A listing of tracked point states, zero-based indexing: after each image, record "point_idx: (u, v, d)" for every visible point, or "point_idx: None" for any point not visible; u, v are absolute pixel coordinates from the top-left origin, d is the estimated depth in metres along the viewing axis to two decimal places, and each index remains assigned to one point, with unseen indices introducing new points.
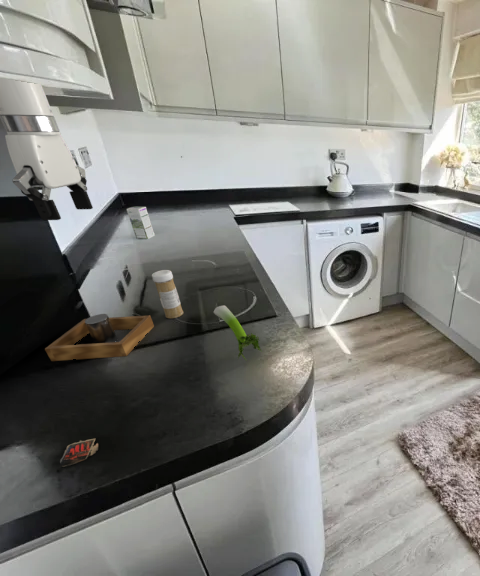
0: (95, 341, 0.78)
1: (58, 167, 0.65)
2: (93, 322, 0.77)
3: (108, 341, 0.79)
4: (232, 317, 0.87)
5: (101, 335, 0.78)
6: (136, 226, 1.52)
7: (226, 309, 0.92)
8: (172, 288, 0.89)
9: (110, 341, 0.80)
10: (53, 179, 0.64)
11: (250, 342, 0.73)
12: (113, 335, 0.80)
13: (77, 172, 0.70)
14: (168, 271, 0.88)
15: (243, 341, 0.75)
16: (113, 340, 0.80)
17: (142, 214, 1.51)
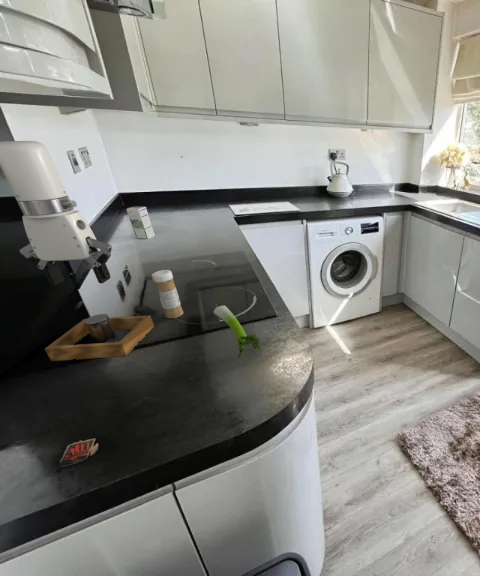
0: (95, 341, 0.78)
1: (49, 245, 0.67)
2: (93, 322, 0.77)
3: (108, 341, 0.79)
4: (232, 317, 0.87)
5: (101, 335, 0.78)
6: (136, 226, 1.52)
7: (226, 309, 0.92)
8: (172, 288, 0.89)
9: (110, 341, 0.80)
10: (43, 254, 0.68)
11: (250, 342, 0.73)
12: (113, 335, 0.80)
13: (79, 250, 0.69)
14: (168, 271, 0.88)
15: (243, 341, 0.75)
16: (113, 340, 0.80)
17: (142, 214, 1.51)
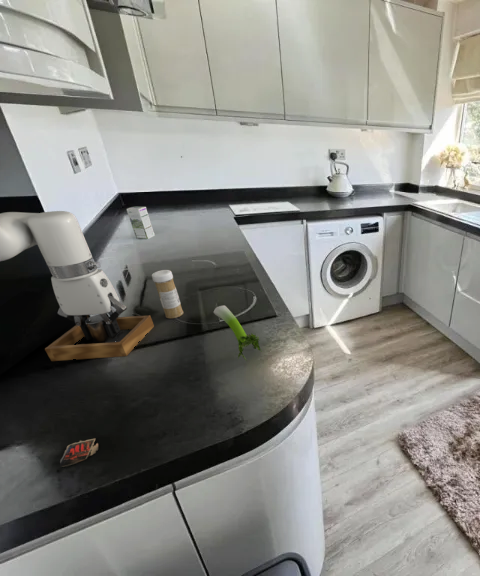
0: (95, 341, 0.78)
1: (74, 302, 0.73)
2: (93, 322, 0.77)
3: (108, 341, 0.79)
4: (232, 317, 0.87)
5: (101, 335, 0.78)
6: (136, 226, 1.52)
7: (226, 309, 0.92)
8: (172, 288, 0.89)
9: (110, 341, 0.80)
10: (68, 310, 0.74)
11: (250, 342, 0.73)
12: None
13: (102, 306, 0.75)
14: (168, 271, 0.88)
15: (243, 341, 0.75)
16: (113, 340, 0.80)
17: (142, 214, 1.51)
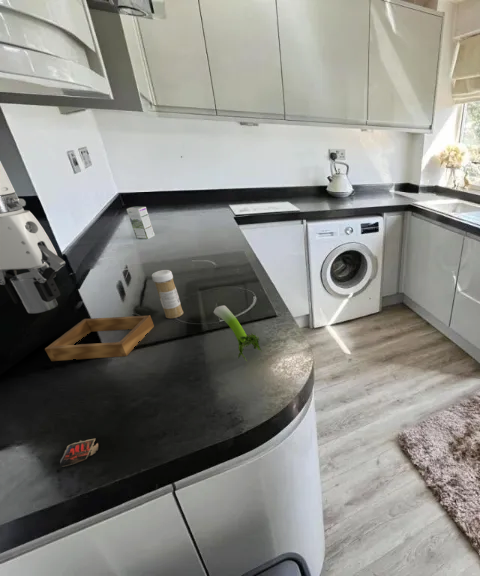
0: (25, 305, 0.62)
1: None
2: (21, 279, 0.60)
3: (43, 305, 0.63)
4: (232, 317, 0.87)
5: (32, 298, 0.61)
6: (136, 226, 1.52)
7: (226, 309, 0.92)
8: (172, 288, 0.89)
9: (46, 306, 0.63)
10: None
11: (250, 342, 0.73)
12: None
13: (29, 258, 0.58)
14: (168, 271, 0.88)
15: (243, 341, 0.75)
16: (50, 305, 0.64)
17: (142, 214, 1.51)
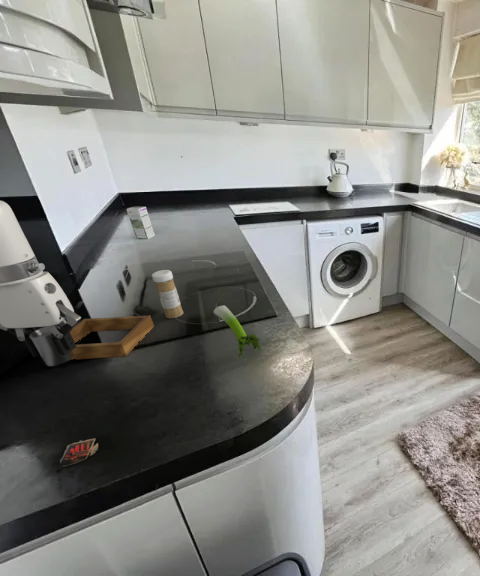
0: (44, 359, 0.65)
1: (13, 312, 0.59)
2: (40, 336, 0.63)
3: (60, 358, 0.66)
4: (232, 317, 0.87)
5: (50, 352, 0.64)
6: (136, 226, 1.52)
7: (226, 309, 0.92)
8: (172, 288, 0.89)
9: (63, 358, 0.66)
10: (7, 322, 0.60)
11: (250, 342, 0.73)
12: None
13: (48, 317, 0.61)
14: (168, 271, 0.88)
15: (243, 341, 0.75)
16: (67, 357, 0.67)
17: (142, 214, 1.51)
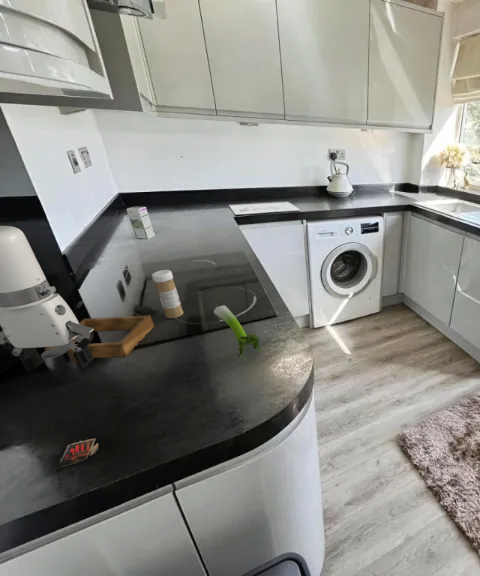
0: (54, 378, 0.67)
1: (24, 333, 0.61)
2: (51, 356, 0.65)
3: (70, 377, 0.68)
4: (232, 317, 0.87)
5: (61, 371, 0.66)
6: (136, 226, 1.52)
7: (226, 309, 0.92)
8: (172, 288, 0.89)
9: (72, 377, 0.68)
10: (18, 342, 0.62)
11: (250, 342, 0.73)
12: (76, 370, 0.69)
13: (58, 338, 0.63)
14: (168, 271, 0.88)
15: (243, 341, 0.75)
16: (76, 376, 0.69)
17: (142, 214, 1.51)
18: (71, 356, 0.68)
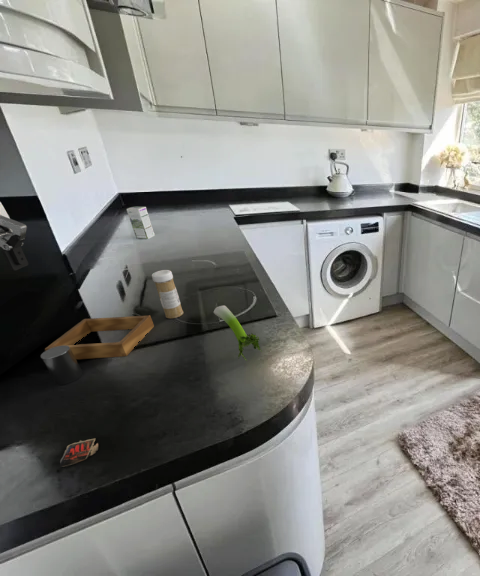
0: (54, 378, 0.67)
1: None
2: (51, 356, 0.65)
3: (70, 377, 0.68)
4: (232, 317, 0.87)
5: (61, 371, 0.66)
6: (136, 226, 1.52)
7: (226, 309, 0.92)
8: (172, 288, 0.89)
9: (72, 377, 0.68)
10: None
11: (250, 342, 0.73)
12: (76, 370, 0.69)
13: None
14: (168, 271, 0.88)
15: (243, 341, 0.75)
16: (76, 376, 0.69)
17: (142, 214, 1.51)
18: (71, 356, 0.68)
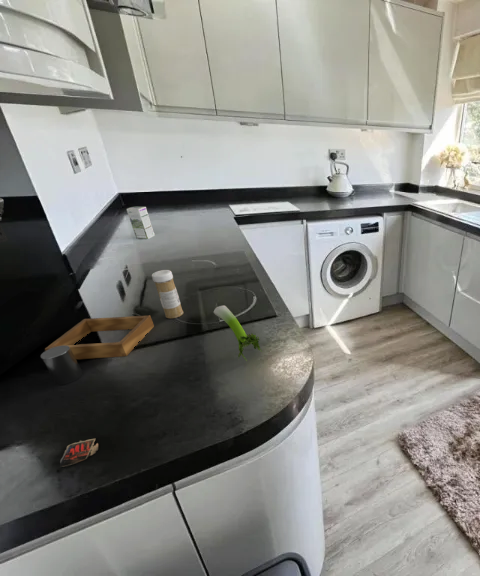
0: (54, 378, 0.67)
1: None
2: (51, 356, 0.65)
3: (70, 377, 0.68)
4: (232, 317, 0.87)
5: (61, 371, 0.66)
6: (136, 226, 1.52)
7: (226, 309, 0.92)
8: (172, 288, 0.89)
9: (72, 377, 0.68)
10: None
11: (250, 342, 0.73)
12: (76, 370, 0.69)
13: None
14: (168, 271, 0.88)
15: (243, 341, 0.75)
16: (76, 376, 0.69)
17: (142, 214, 1.51)
18: (71, 356, 0.68)
